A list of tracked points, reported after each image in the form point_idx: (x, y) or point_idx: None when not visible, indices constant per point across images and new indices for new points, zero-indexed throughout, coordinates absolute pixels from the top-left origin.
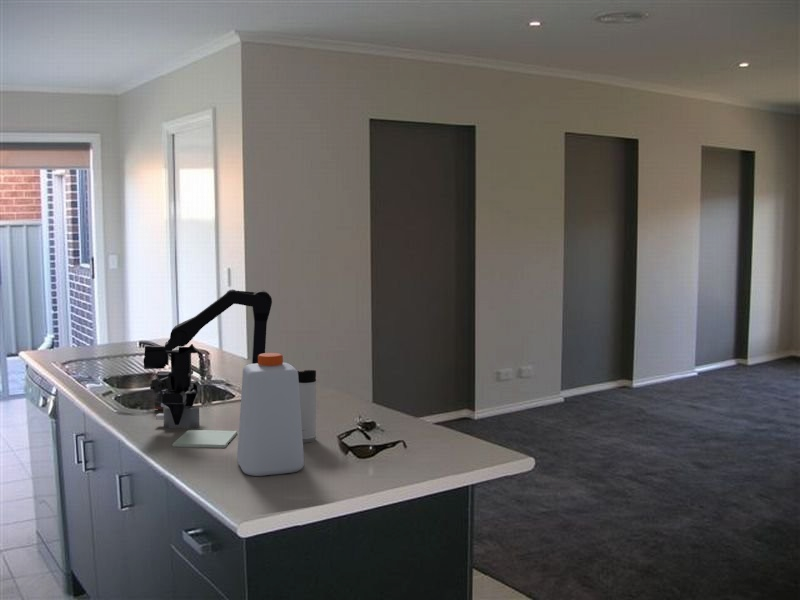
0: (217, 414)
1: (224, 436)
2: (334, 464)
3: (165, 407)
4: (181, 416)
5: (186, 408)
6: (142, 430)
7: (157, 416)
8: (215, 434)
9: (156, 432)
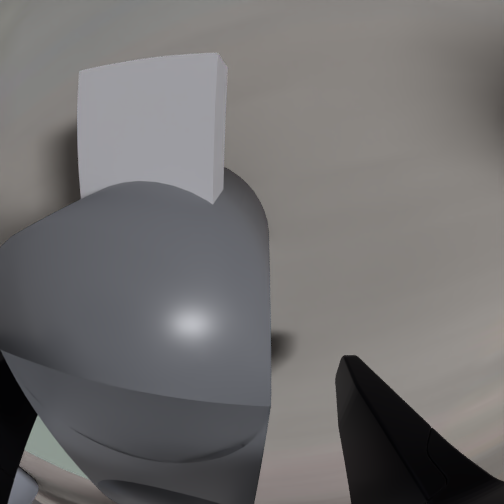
0: (466, 414)
1: (56, 459)
2: (49, 498)
3: (64, 270)
4: (33, 411)
5: (136, 491)
6: (36, 44)
7: (84, 100)
8: (58, 449)
9: (3, 179)
